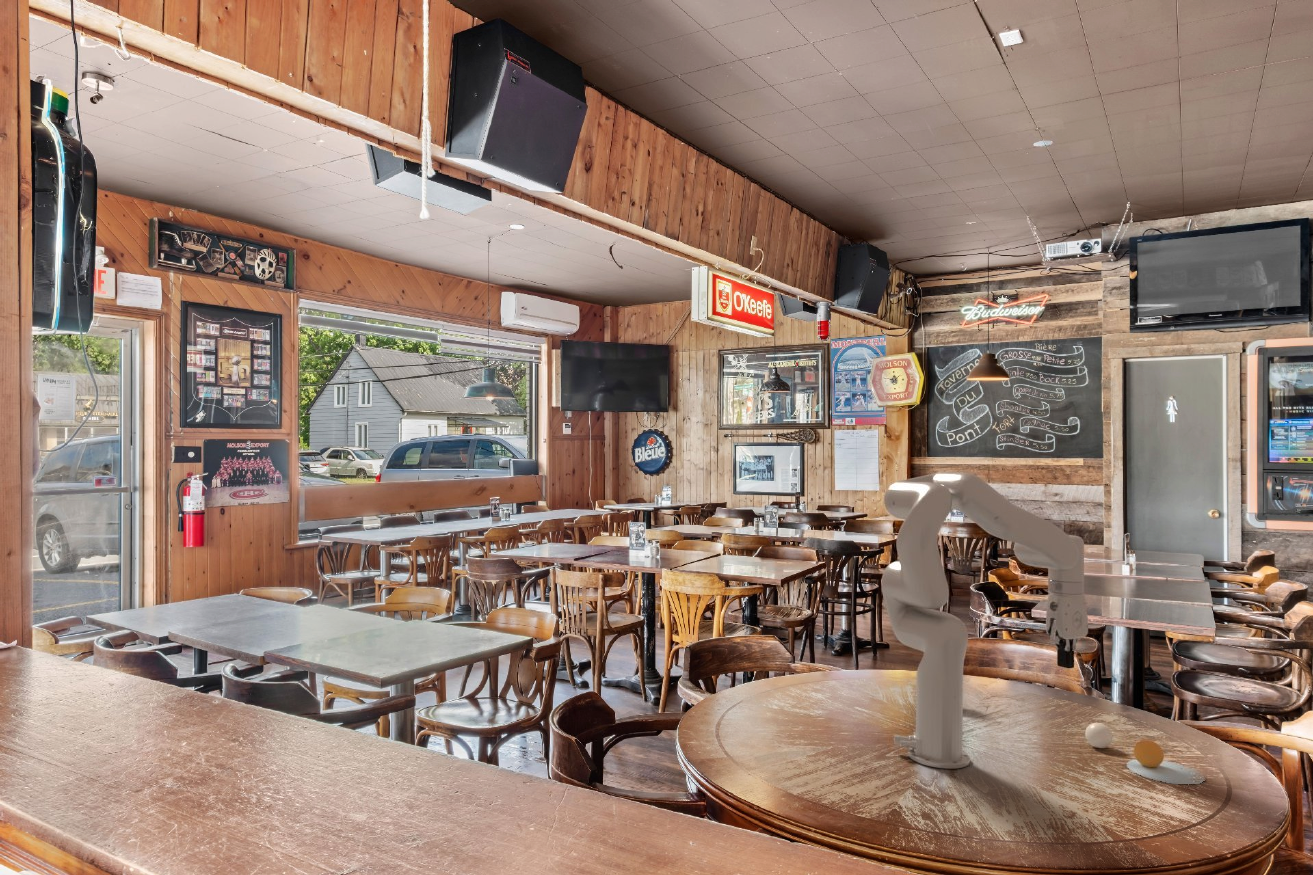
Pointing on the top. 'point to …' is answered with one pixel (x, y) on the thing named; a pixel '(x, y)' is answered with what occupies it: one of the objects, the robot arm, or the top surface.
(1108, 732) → the cue ball
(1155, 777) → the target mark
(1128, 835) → the top surface
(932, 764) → the robot arm
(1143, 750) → the orange ball
